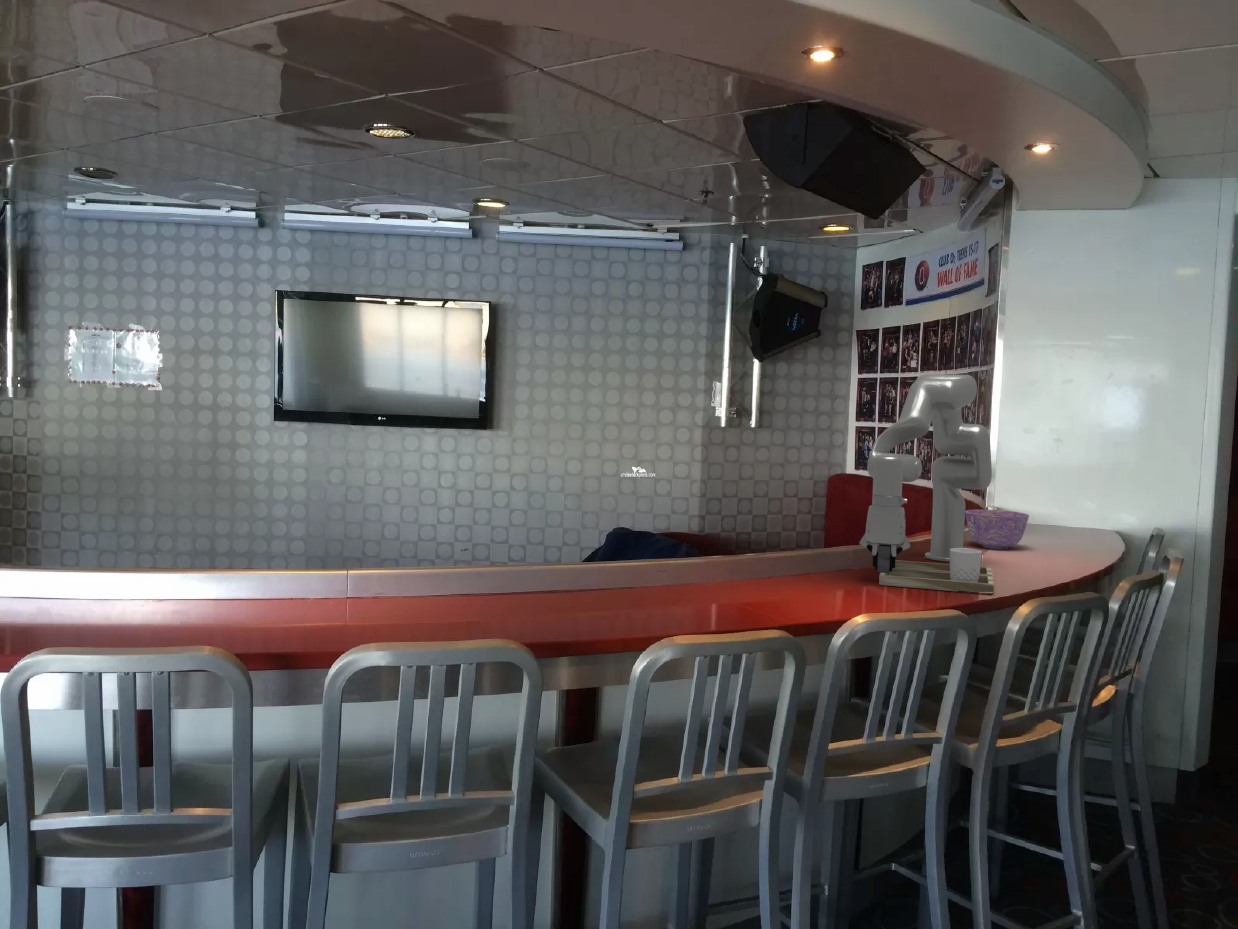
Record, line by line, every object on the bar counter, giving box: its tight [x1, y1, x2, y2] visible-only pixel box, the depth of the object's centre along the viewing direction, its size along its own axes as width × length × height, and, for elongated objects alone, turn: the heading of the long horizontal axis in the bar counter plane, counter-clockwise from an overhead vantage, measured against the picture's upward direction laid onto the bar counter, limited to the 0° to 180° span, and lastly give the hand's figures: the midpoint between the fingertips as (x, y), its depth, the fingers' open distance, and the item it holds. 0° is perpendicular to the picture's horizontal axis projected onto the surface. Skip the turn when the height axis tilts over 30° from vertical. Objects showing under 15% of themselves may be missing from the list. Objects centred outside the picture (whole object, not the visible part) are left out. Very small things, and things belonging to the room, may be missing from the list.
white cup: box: [949, 547, 983, 583], centre depth 254 cm, size 8×8×10 cm
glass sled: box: [876, 544, 995, 593], centre depth 256 cm, size 13×29×10 cm, turn 71°
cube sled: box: [891, 551, 993, 577], centre depth 270 cm, size 13×29×10 cm, turn 71°
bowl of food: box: [965, 509, 1030, 550], centre depth 326 cm, size 20×20×12 cm
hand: (883, 569), depth 261 cm, fingers closed on glass sled, 3 cm apart
